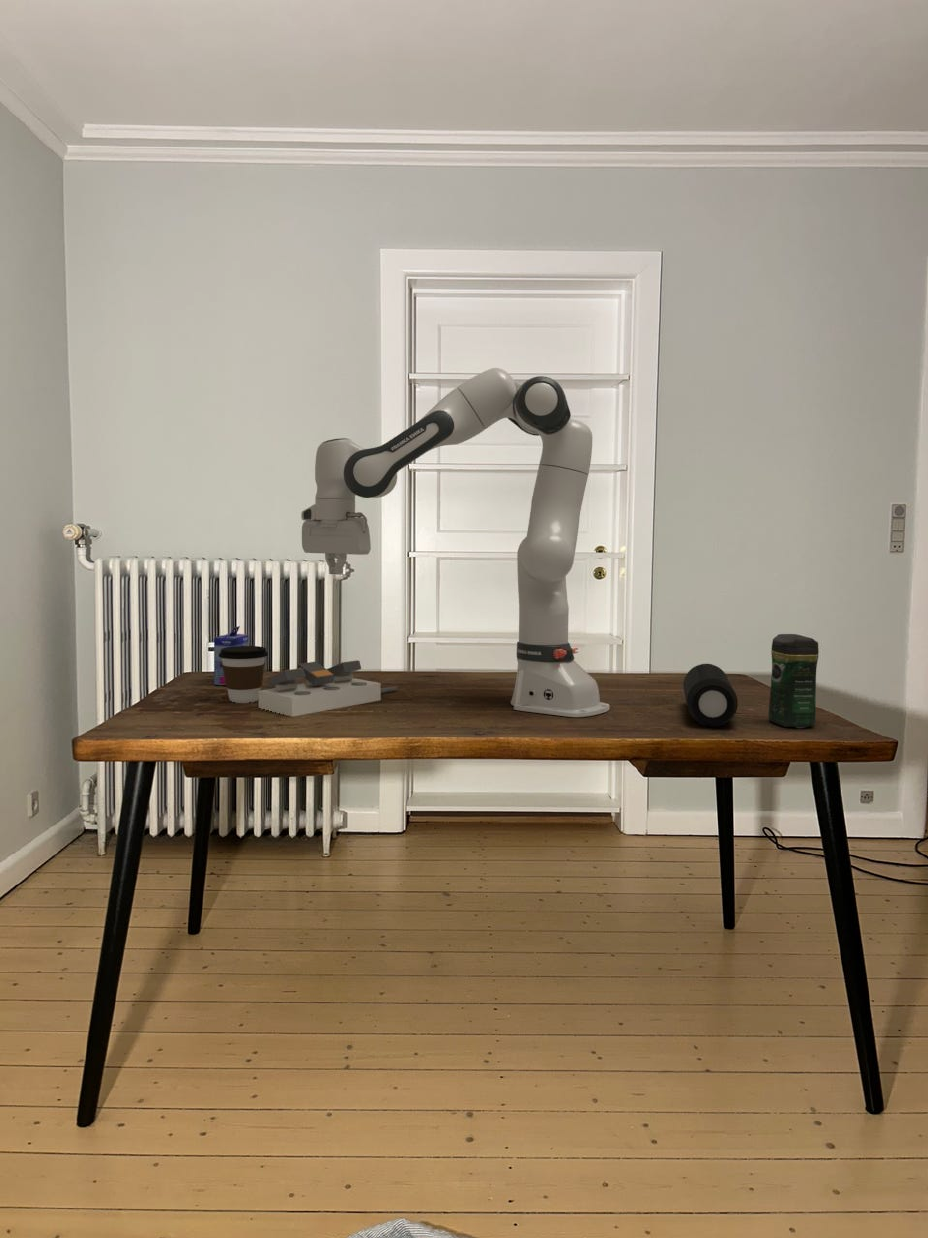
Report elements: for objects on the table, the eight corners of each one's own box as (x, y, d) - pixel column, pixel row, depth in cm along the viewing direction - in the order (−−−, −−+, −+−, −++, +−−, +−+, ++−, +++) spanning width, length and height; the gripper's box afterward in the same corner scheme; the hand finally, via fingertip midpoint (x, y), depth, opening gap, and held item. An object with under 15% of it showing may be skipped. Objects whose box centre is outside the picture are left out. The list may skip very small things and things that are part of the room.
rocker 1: (305, 677, 192) (303, 667, 192) (286, 679, 188) (284, 670, 189) (287, 684, 197) (285, 674, 197) (268, 687, 193) (266, 677, 193)
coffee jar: (821, 729, 177) (826, 637, 175) (783, 729, 176) (788, 637, 174) (798, 718, 186) (802, 631, 184) (762, 719, 186) (766, 631, 184)
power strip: (413, 694, 211) (413, 670, 210) (292, 716, 185) (291, 690, 184) (379, 687, 219) (379, 665, 218) (258, 708, 193) (258, 683, 192)
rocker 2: (332, 683, 199) (334, 674, 198) (314, 685, 195) (316, 677, 194) (314, 669, 203) (316, 660, 202) (296, 671, 199) (298, 663, 198)
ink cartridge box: (234, 686, 219) (232, 629, 218) (213, 686, 220) (211, 628, 218) (250, 680, 229) (248, 624, 227) (229, 679, 230) (228, 624, 228)
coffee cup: (266, 695, 208) (265, 644, 207) (271, 703, 198) (270, 651, 197) (218, 697, 205) (217, 646, 204) (221, 706, 195) (219, 652, 193)
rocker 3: (361, 668, 204) (359, 659, 204) (344, 671, 200) (342, 662, 200) (343, 675, 208) (340, 666, 209) (326, 678, 205) (324, 669, 205)
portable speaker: (737, 731, 175) (739, 681, 174) (686, 728, 177) (688, 679, 176) (727, 706, 200) (728, 662, 199) (682, 704, 202) (683, 661, 201)
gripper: (377, 512, 192) (377, 575, 194) (318, 513, 206) (319, 572, 207) (355, 511, 187) (355, 576, 189) (296, 512, 201) (297, 573, 203)
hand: (336, 574), depth 198 cm, fingers closed
